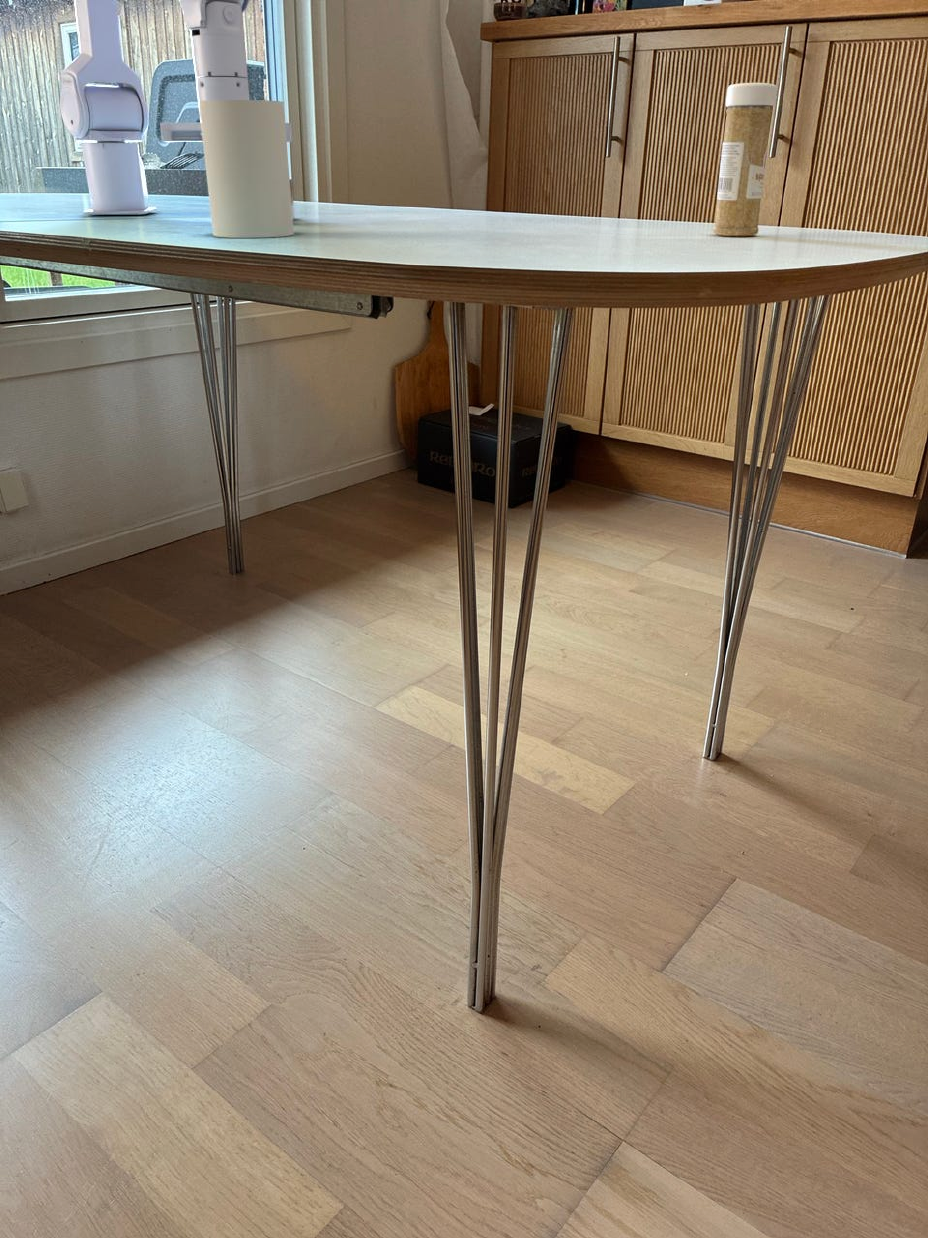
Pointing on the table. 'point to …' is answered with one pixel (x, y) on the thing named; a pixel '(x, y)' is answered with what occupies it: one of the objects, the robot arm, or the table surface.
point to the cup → (247, 168)
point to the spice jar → (743, 158)
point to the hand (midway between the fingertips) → (235, 210)
